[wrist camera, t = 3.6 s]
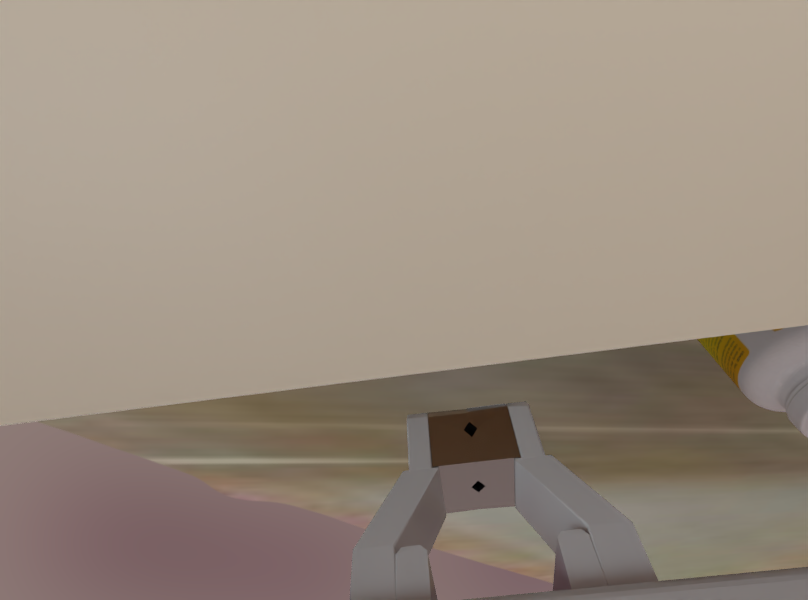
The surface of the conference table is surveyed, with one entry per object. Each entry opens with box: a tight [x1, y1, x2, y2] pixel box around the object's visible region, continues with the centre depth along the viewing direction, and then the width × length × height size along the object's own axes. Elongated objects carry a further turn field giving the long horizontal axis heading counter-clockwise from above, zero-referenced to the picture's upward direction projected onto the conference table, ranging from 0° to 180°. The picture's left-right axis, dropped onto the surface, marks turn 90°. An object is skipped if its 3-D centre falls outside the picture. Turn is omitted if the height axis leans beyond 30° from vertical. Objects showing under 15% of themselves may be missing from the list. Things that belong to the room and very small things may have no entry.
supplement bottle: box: [698, 325, 808, 438], centre depth 31 cm, size 7×7×13 cm
